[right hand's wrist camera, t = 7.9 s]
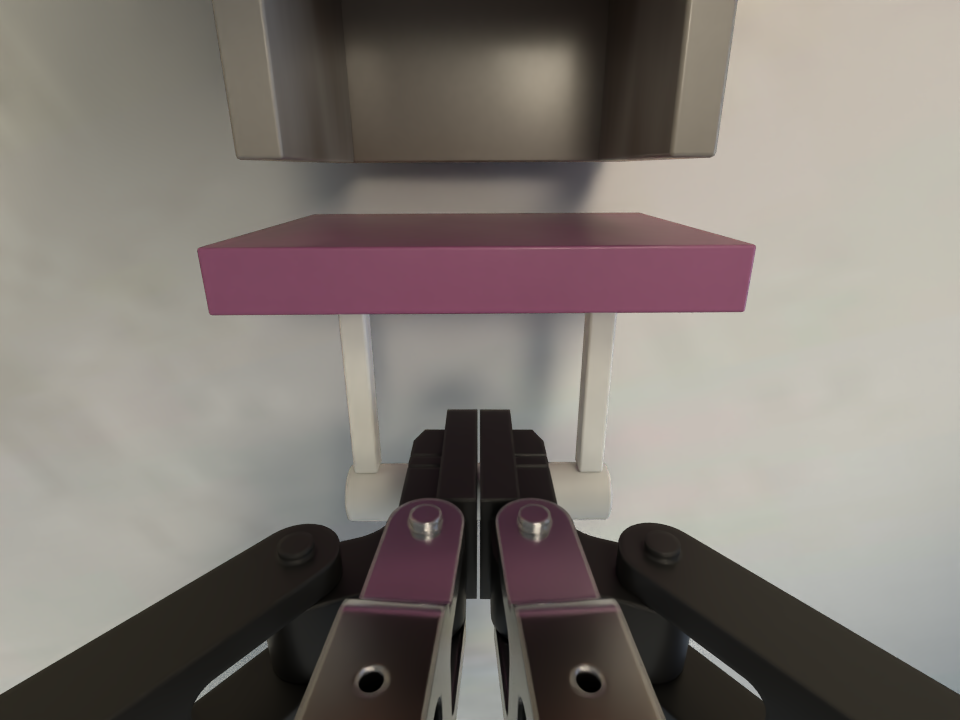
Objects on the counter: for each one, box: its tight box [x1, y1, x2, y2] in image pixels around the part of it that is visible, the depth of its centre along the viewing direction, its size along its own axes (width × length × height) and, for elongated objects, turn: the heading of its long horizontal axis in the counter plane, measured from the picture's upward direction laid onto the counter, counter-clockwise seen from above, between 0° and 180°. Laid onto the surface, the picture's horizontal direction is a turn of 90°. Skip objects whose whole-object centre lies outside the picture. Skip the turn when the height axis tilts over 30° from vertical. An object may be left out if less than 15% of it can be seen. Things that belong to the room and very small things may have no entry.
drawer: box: [197, 0, 756, 521], centre depth 11 cm, size 18×10×7 cm, turn 0°
